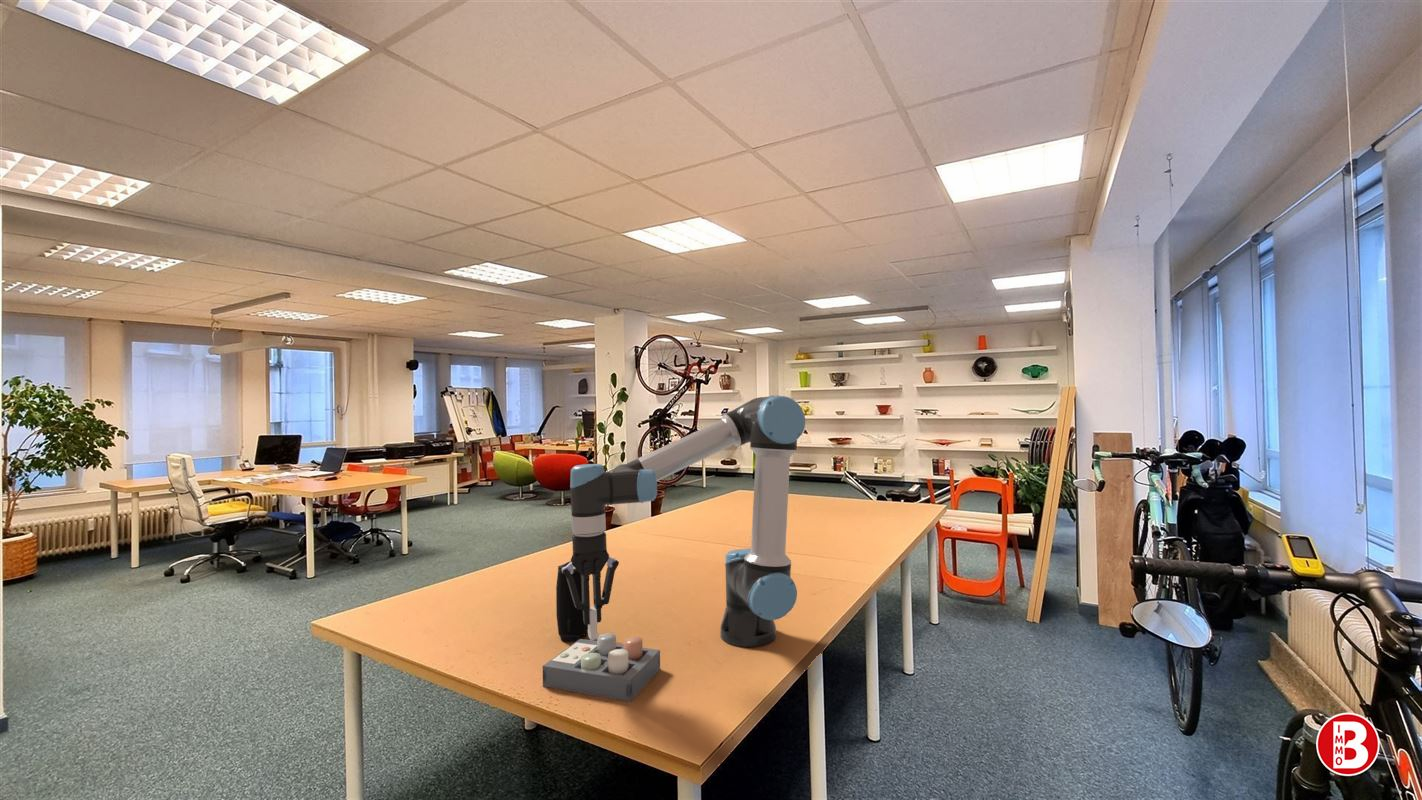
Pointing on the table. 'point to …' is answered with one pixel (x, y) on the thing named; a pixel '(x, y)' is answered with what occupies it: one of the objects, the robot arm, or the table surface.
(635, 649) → the button terracotta
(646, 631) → the table surface
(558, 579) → the portable speaker
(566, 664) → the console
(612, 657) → the button ivory
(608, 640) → the button grey
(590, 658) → the button sage
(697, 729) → the table surface
